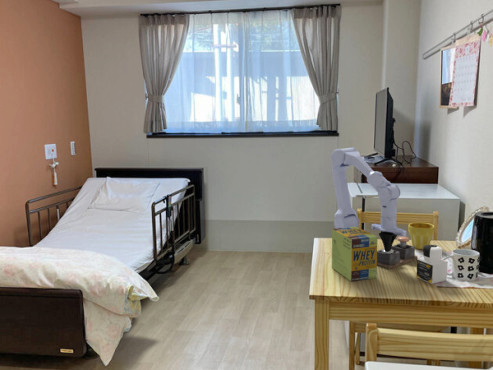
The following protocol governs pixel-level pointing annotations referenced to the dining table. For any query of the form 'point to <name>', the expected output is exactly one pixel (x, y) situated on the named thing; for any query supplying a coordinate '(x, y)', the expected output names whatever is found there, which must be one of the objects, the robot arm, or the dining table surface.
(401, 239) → the terracotta plunger
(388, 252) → the steel plunger
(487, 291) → the dining table surface
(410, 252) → the wooden cubby shelf
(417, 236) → the plant pot
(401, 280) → the dining table surface
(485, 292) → the dining table surface
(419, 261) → the medicine bottle
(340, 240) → the protein box
